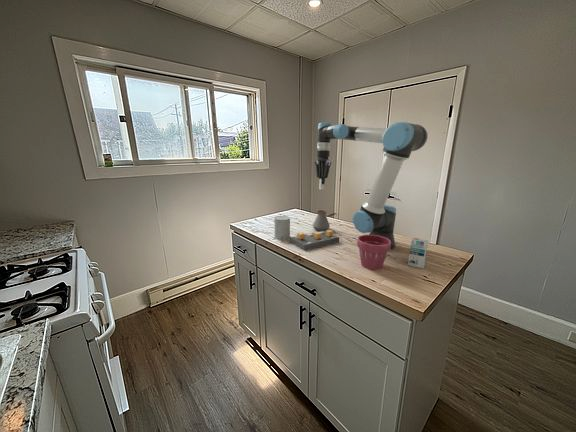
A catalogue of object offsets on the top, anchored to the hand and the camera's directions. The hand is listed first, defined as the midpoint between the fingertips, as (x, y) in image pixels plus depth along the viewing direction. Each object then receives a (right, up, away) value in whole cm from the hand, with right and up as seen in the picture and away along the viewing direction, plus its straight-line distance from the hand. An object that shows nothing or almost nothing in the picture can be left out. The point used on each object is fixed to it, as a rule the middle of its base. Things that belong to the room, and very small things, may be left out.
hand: (321, 189), depth 148 cm
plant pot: (+17, -40, -39) cm, 58 cm away
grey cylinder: (-25, -30, -3) cm, 39 cm away
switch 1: (-14, -29, -14) cm, 35 cm away
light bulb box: (+40, -39, -36) cm, 67 cm away
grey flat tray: (-5, -32, -11) cm, 34 cm away
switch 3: (+3, -28, -9) cm, 30 cm away
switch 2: (-4, -29, -13) cm, 32 cm away
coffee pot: (+4, -27, +8) cm, 29 cm away
